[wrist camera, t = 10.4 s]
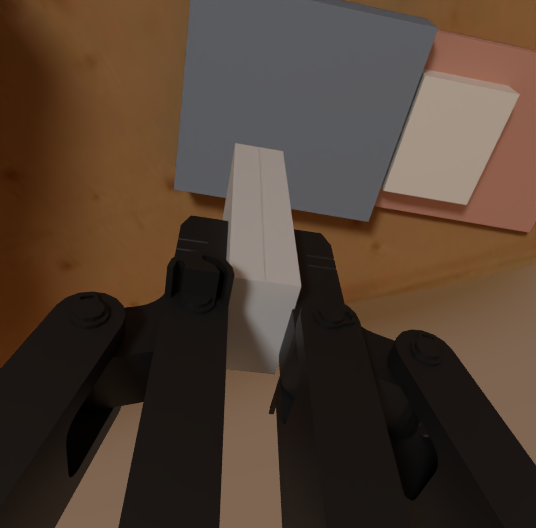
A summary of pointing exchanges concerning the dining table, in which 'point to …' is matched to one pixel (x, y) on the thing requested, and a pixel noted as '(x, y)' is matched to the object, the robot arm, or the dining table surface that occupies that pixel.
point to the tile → (448, 136)
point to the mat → (507, 147)
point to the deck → (299, 95)
